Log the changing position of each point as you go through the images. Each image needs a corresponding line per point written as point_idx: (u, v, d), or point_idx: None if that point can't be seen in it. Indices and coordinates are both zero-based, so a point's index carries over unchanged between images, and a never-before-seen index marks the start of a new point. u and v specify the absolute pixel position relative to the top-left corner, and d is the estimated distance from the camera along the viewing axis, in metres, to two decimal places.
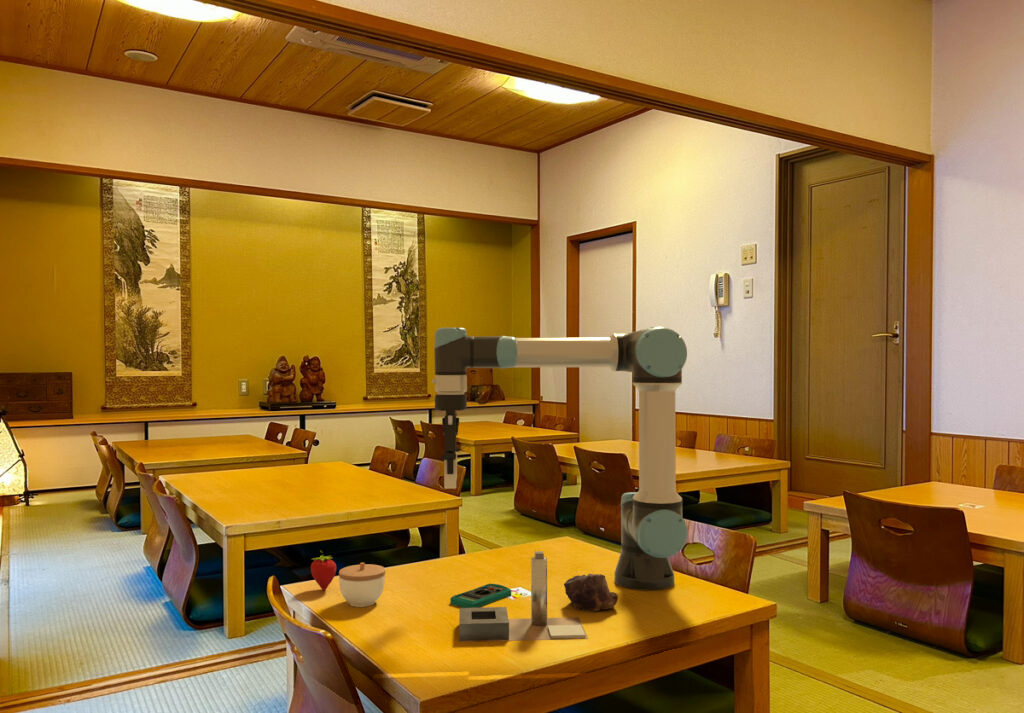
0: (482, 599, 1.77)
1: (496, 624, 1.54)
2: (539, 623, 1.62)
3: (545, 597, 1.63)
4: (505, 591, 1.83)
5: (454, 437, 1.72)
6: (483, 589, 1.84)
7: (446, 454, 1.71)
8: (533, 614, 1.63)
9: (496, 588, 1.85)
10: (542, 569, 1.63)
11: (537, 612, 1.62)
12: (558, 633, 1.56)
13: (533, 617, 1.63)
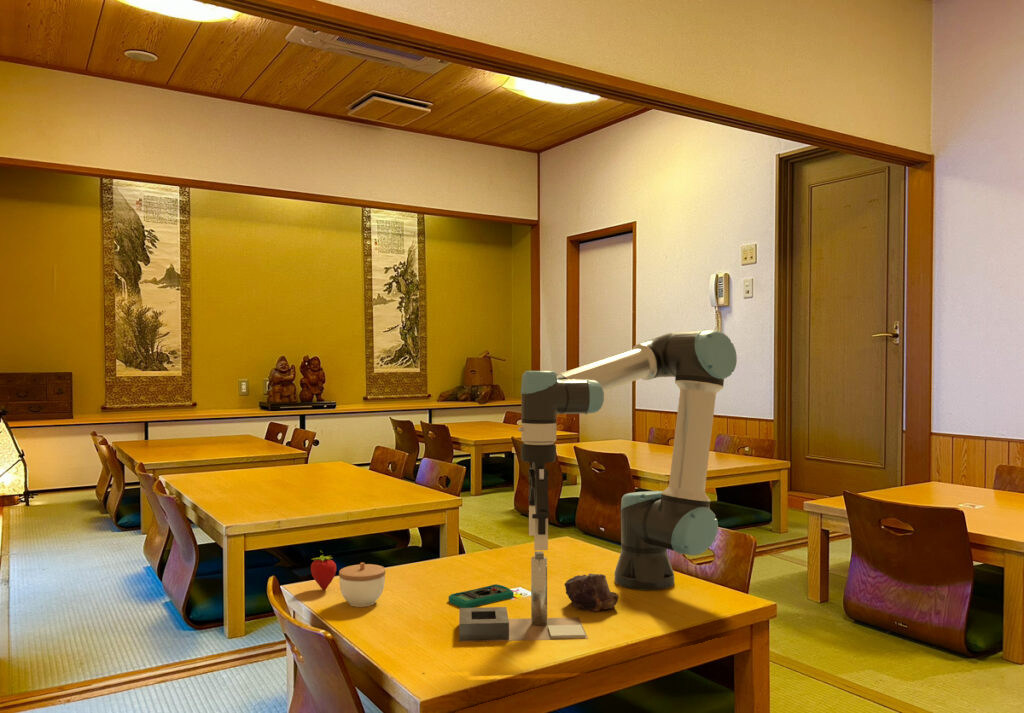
0: (478, 599, 1.77)
1: (496, 624, 1.54)
2: (539, 623, 1.62)
3: (545, 597, 1.63)
4: (506, 593, 1.81)
5: (547, 494, 1.56)
6: (486, 589, 1.84)
7: (539, 513, 1.54)
8: (533, 614, 1.63)
9: (499, 589, 1.84)
10: (542, 569, 1.63)
11: (537, 612, 1.62)
12: (558, 633, 1.56)
13: (533, 617, 1.63)
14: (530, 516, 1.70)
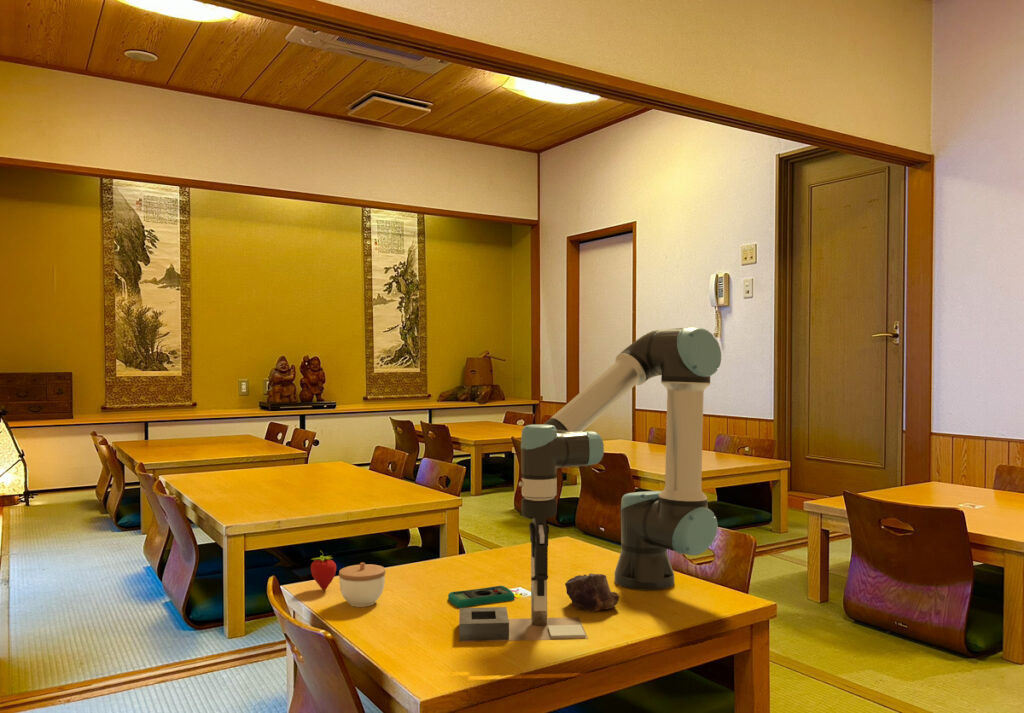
0: (473, 599, 1.77)
1: (496, 624, 1.54)
2: (539, 623, 1.62)
3: None
4: (505, 595, 1.80)
5: (546, 559, 1.59)
6: (488, 590, 1.83)
7: (538, 577, 1.59)
8: (533, 614, 1.63)
9: (501, 591, 1.83)
10: None
11: (537, 612, 1.62)
12: (558, 633, 1.56)
13: (533, 617, 1.63)
14: None
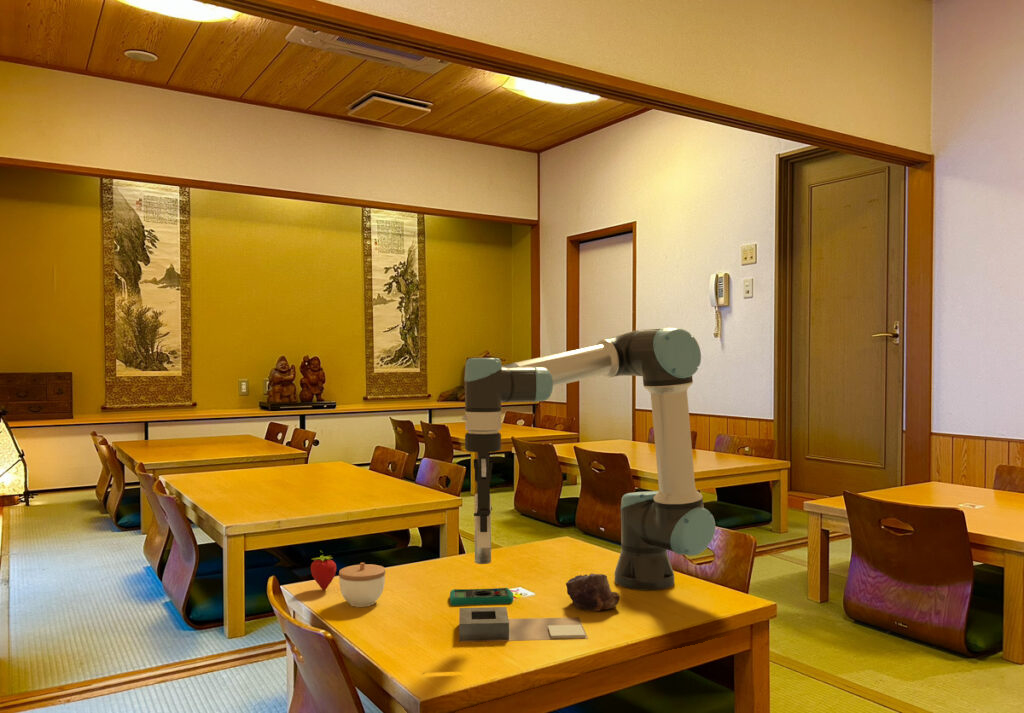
0: (467, 598, 1.77)
1: (496, 624, 1.54)
2: (482, 561, 1.58)
3: None
4: (502, 597, 1.78)
5: (488, 493, 1.54)
6: (490, 591, 1.83)
7: (479, 512, 1.54)
8: (476, 552, 1.58)
9: (502, 593, 1.81)
10: None
11: (480, 549, 1.58)
12: (558, 633, 1.56)
13: (476, 555, 1.58)
14: None
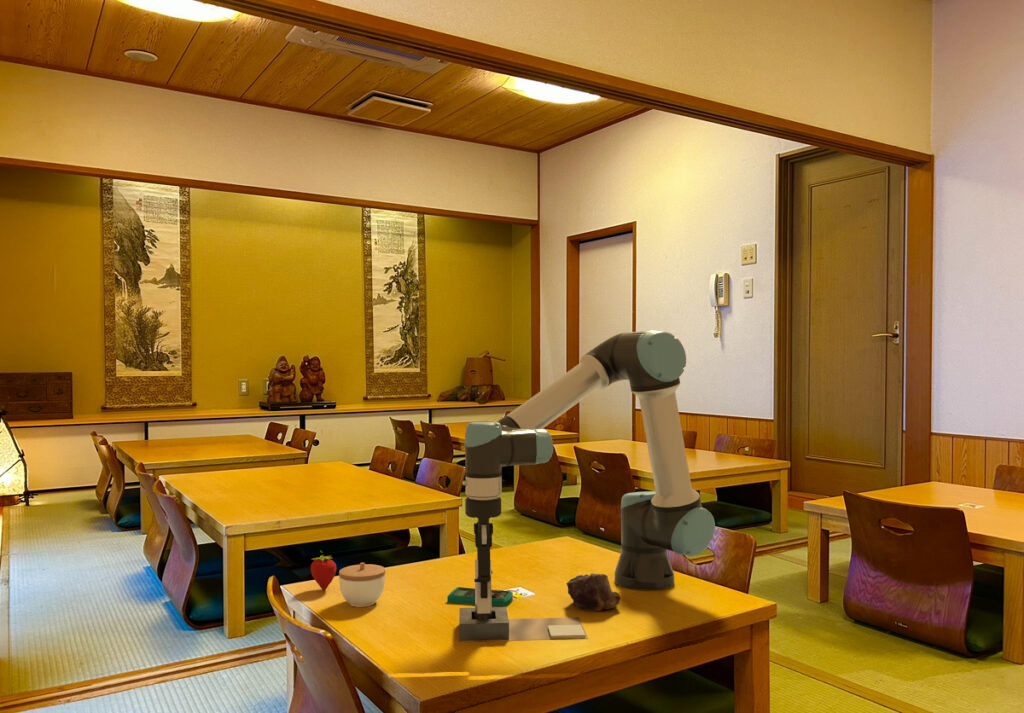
0: (462, 596, 1.78)
1: (496, 624, 1.54)
2: None
3: None
4: (496, 600, 1.76)
5: (489, 560, 1.54)
6: (491, 592, 1.82)
7: (480, 579, 1.54)
8: (477, 618, 1.58)
9: (500, 595, 1.79)
10: None
11: (480, 616, 1.58)
12: (558, 633, 1.56)
13: None
14: None
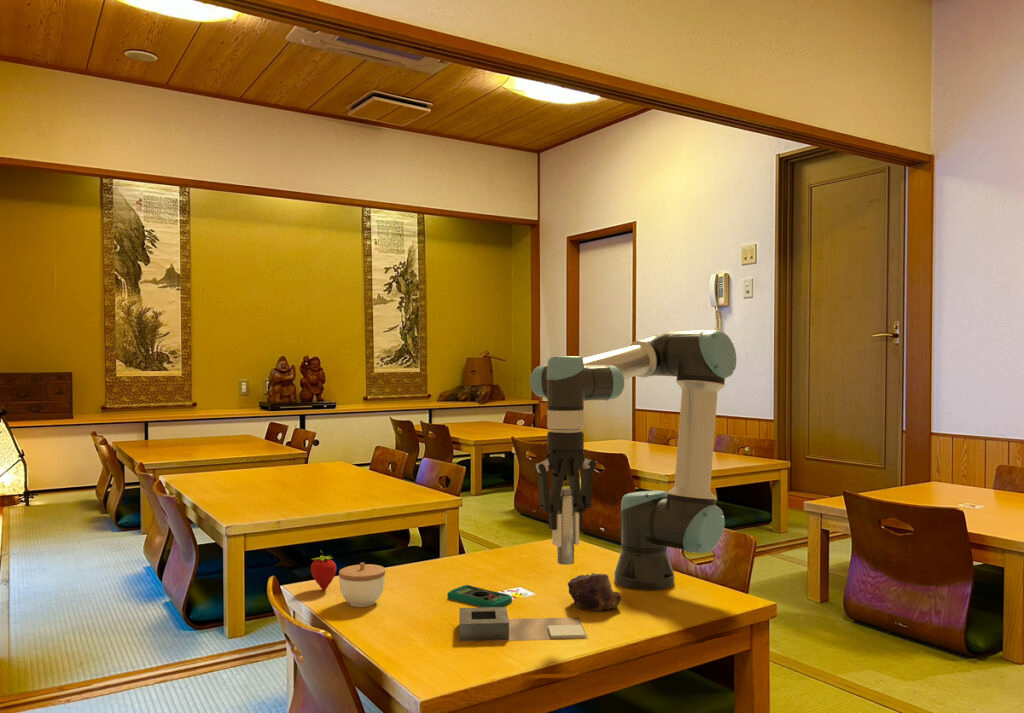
0: (459, 594, 1.80)
1: (496, 624, 1.54)
2: (558, 560, 1.58)
3: (563, 535, 1.57)
4: (486, 601, 1.75)
5: (543, 490, 1.55)
6: (491, 594, 1.80)
7: (540, 507, 1.57)
8: None
9: (494, 598, 1.77)
10: (559, 505, 1.57)
11: None
12: (558, 633, 1.56)
13: None
14: None
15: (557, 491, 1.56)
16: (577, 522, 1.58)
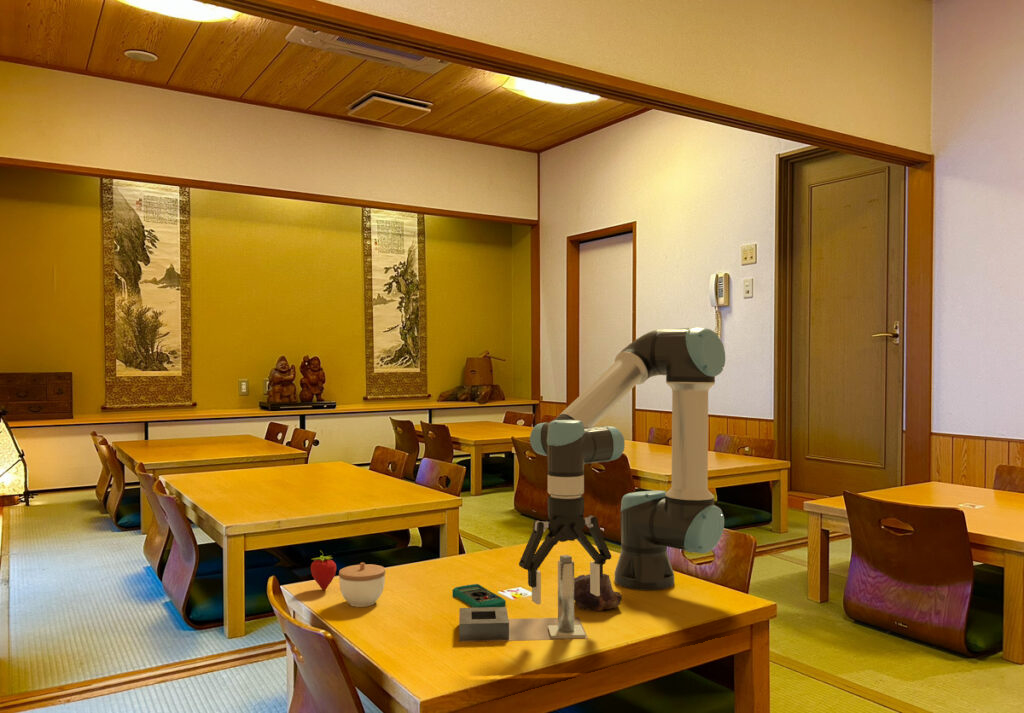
0: (459, 592, 1.82)
1: (496, 624, 1.54)
2: (558, 628, 1.58)
3: (563, 603, 1.57)
4: (474, 602, 1.75)
5: (531, 547, 1.54)
6: (488, 595, 1.79)
7: (520, 563, 1.55)
8: None
9: (486, 599, 1.76)
10: (560, 573, 1.57)
11: None
12: (558, 633, 1.56)
13: None
14: (590, 572, 1.62)
15: (545, 551, 1.55)
16: (598, 573, 1.60)
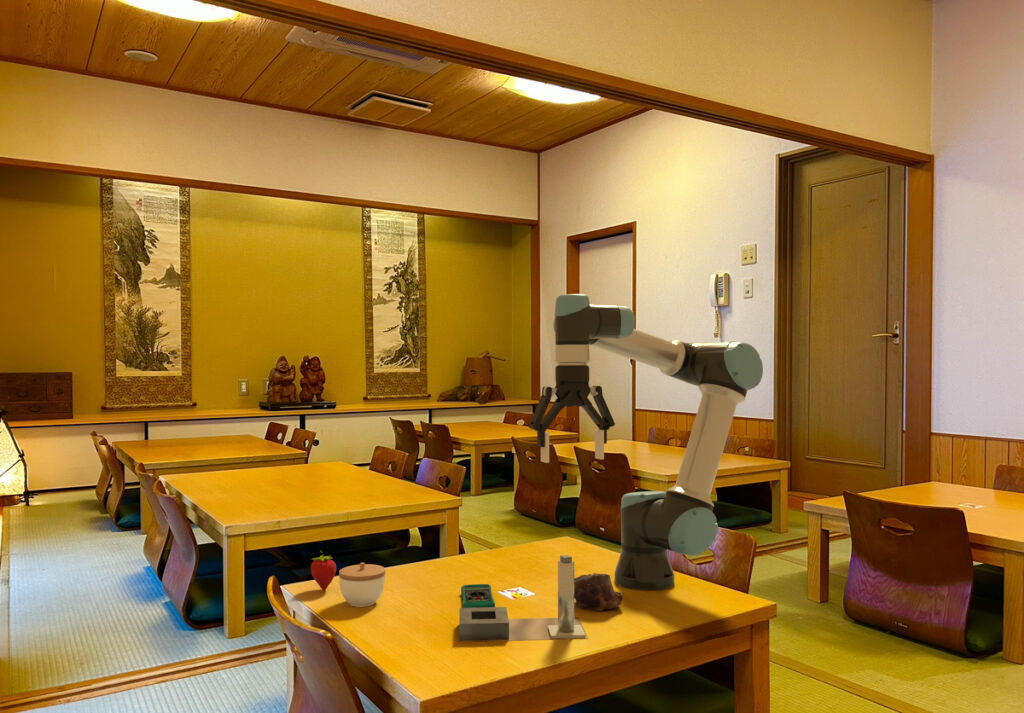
0: (463, 590, 1.84)
1: (496, 624, 1.54)
2: (558, 628, 1.58)
3: (563, 603, 1.57)
4: (463, 601, 1.76)
5: (540, 409, 1.66)
6: (484, 596, 1.78)
7: (529, 425, 1.67)
8: None
9: (476, 600, 1.76)
10: (560, 573, 1.57)
11: None
12: (558, 633, 1.56)
13: None
14: (595, 439, 1.73)
15: (553, 414, 1.67)
16: (602, 439, 1.71)
